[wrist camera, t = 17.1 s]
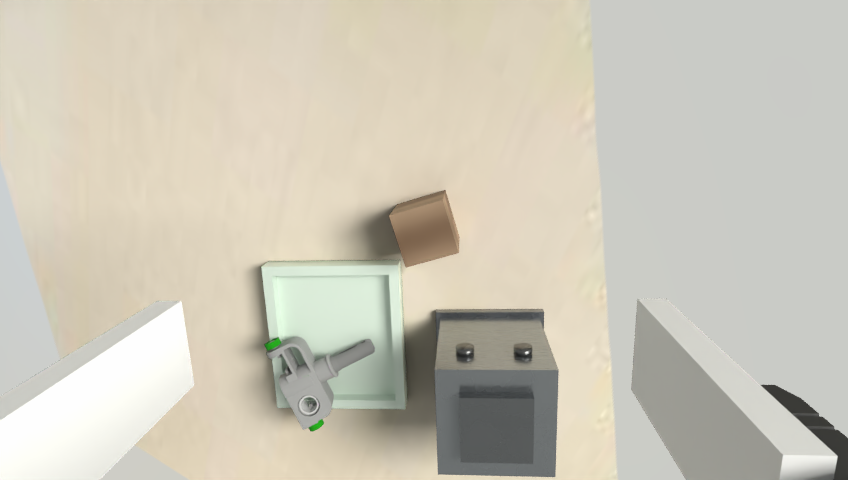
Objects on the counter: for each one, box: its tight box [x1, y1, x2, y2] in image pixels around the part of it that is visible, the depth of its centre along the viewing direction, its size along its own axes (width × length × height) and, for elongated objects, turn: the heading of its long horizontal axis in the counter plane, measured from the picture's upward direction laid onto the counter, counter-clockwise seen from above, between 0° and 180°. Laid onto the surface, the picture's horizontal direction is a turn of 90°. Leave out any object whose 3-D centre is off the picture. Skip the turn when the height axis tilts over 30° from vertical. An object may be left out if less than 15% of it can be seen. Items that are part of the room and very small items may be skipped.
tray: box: [261, 260, 407, 409], centre depth 54 cm, size 16×14×2 cm
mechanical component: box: [265, 337, 375, 431], centre depth 53 cm, size 3×10×10 cm
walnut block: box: [389, 190, 459, 267], centre depth 48 cm, size 5×5×6 cm
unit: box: [435, 309, 558, 477], centre depth 48 cm, size 11×11×13 cm
